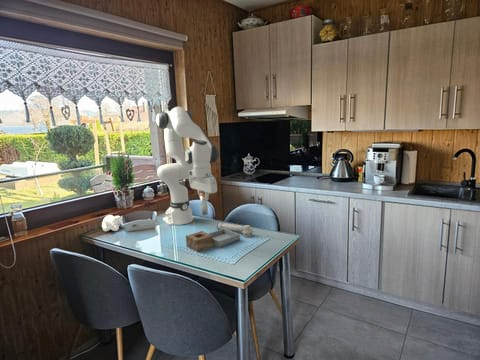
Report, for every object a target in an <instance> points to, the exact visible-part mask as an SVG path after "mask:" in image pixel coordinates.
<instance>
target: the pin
mask: <svg viewBox="0 0 480 360" xmlns="http://www.w3.org/2000/svg"><path fill="white" fill-rule="evenodd" d="M200 195H201V198H200V206H201V207H200V208H201V209H200V210H201V215H202V216H206V215H208V214H209V210H208V208H209V207H208V200H204V197H205V192H202V193H200Z"/></svg>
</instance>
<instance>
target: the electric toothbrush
mask: <svg viewBox="0 0 480 360" xmlns="http://www.w3.org/2000/svg"><path fill="white" fill-rule="evenodd" d="M216 228H217V230H220V229H223V228H224V229H227V230H229V231H233V232H234V231H236V232H241V233H242V234H243V237H245V238H247V237H252V236H253V232H254V231H253V230H252V227H251V225H249V224H246V225H241V224H240V225H239V224H234V223H233V224H232V223H226V222H218V223H217V224H216Z"/></svg>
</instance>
